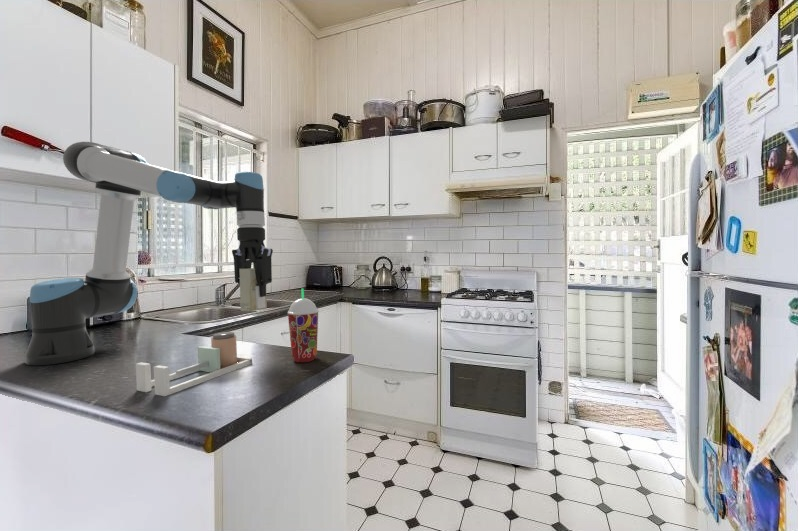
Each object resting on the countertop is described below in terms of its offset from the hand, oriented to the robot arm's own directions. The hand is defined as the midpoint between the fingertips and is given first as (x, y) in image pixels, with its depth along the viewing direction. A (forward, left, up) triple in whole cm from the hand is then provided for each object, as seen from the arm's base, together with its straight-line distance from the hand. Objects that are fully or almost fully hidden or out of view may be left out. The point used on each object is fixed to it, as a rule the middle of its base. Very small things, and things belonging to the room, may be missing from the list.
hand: (254, 307), depth 107 cm
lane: (0, -18, -14) cm, 23 cm away
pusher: (0, -20, -14) cm, 24 cm away
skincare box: (0, 0, -1) cm, 1 cm away
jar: (0, -11, -14) cm, 18 cm away
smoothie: (+16, +2, -14) cm, 22 cm away
